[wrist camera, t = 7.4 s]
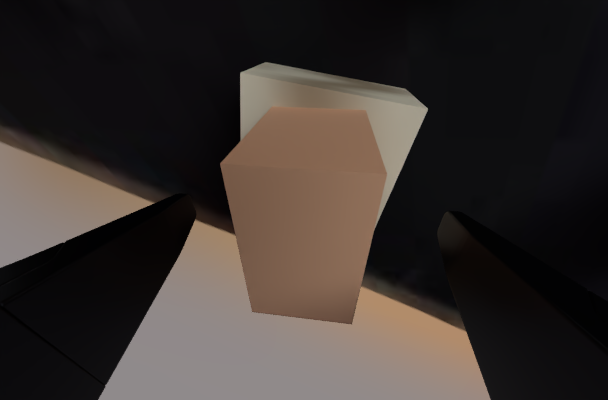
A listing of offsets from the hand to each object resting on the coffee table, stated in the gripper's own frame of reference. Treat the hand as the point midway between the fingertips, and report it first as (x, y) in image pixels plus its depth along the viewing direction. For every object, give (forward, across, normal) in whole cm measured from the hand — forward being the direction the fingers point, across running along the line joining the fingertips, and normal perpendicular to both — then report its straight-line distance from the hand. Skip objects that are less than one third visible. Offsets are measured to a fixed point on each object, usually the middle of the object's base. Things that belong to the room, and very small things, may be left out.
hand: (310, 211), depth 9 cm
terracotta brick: (+3, 0, 0) cm, 3 cm away
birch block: (+7, 0, 0) cm, 7 cm away
